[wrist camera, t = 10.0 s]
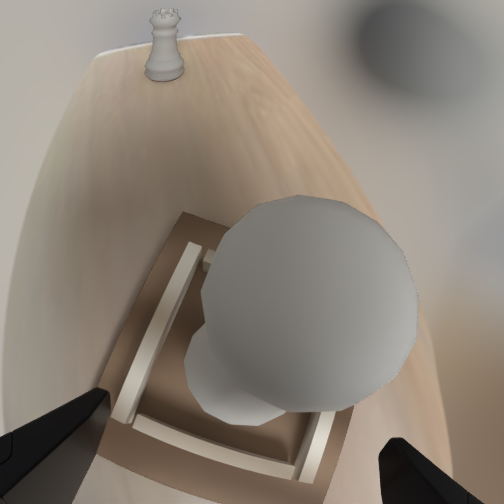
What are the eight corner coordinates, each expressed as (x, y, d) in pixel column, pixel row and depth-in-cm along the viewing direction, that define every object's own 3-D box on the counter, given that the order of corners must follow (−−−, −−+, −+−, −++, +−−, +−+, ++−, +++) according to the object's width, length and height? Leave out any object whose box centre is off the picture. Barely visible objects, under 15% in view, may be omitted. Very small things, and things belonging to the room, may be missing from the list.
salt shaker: (277, 434, 15) (449, 469, 3) (173, 405, 15) (94, 402, 3) (301, 336, 18) (454, 204, 6) (205, 308, 18) (223, 117, 6)
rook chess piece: (192, 71, 31) (196, 9, 24) (165, 87, 29) (166, 20, 22) (163, 62, 31) (164, 3, 24) (136, 77, 29) (133, 14, 22)
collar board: (309, 516, 13) (324, 529, 11) (82, 440, 13) (65, 444, 11) (371, 289, 21) (389, 275, 19) (183, 219, 21) (182, 197, 19)
